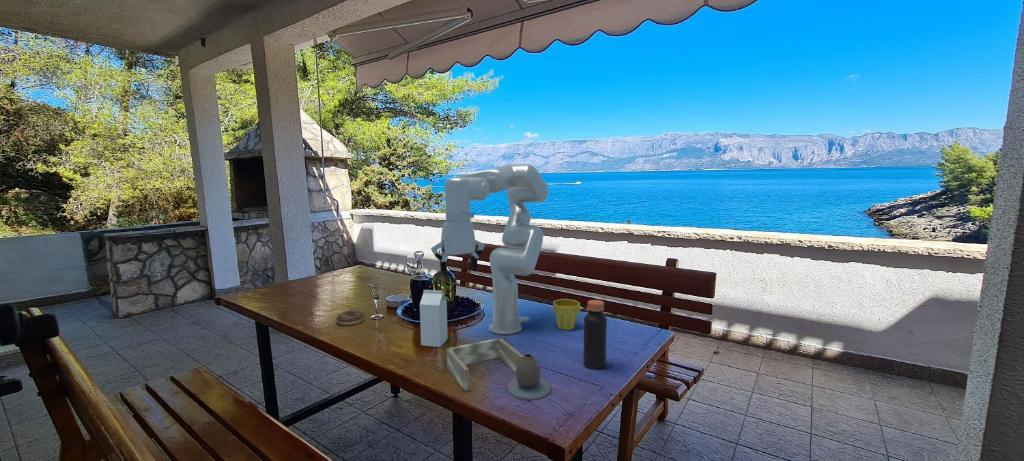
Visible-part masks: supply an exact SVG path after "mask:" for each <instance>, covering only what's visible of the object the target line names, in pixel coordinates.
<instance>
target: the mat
mask: <svg viewBox="0 0 1024 461" xmlns="http://www.w3.org/2000/svg"><path fill="white" fill-rule="evenodd" d="M506 389H507V392H508V393H509V394H510V395H511V396H512V397H514V398H517V399H520V400H524V401H525V400H526V401H533V400H534V401H535V400H540V399H542V398H543V399H544V398H545V397H547V396H548V395H549V394H550V393H551V391H552V386H551V383H550V381H548V380H547V379H545V378H543V377H541V378H540V381H539V383H538V385H537V386H536V387H535V388H533V389H524V388H522V387H521V386H520V385H519V384H518V382H517V379H516V377H514V378H512V379H511V380H510V381H508V383H507V388H506Z"/></svg>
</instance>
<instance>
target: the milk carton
mask: <svg viewBox="0 0 1024 461" xmlns="http://www.w3.org/2000/svg"><path fill="white" fill-rule="evenodd" d="M447 307H448V304H447V298H446V297H445V294H444V291H443V290H435V289H434V290H433V289H432V290H431V289H423V293H422V296H421V300H420V302H419V321H420V322H419V323H420V345H421V346H424V347H435V348H436V347H437V348H440V347H441V348H442V346H443V345H444V343H445V342H446V341H447V340H448V310H447V309H448V308H447Z"/></svg>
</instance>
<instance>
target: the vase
mask: <svg viewBox="0 0 1024 461" xmlns="http://www.w3.org/2000/svg"><path fill="white" fill-rule="evenodd" d="M541 376H542V372H541V367H540V365H539V362H537V360H536V359H535V358H534V355H533V354H532V353H525V354H523V358H522V360H521V361H520V362H519V363H518V365H517V368H516V372H515V378H516V379H517V382H518V384H519V385H520V386H521V387H522V388H524V389H533V388H535V387H536V386H537V385H538V383H539V381H540V378H542V377H541Z"/></svg>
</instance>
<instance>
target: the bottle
mask: <svg viewBox="0 0 1024 461" xmlns="http://www.w3.org/2000/svg"><path fill="white" fill-rule="evenodd" d="M586 308H587V312H588V313H587V314H585V316H584V318H583V354H582V355H583V357H582V358H583V365H584V366H585V367H586V368H588V369H592V370H601V369H603V368H605V367H606V363H607V330H608V329H607V328H608V327H607V325H608V321H607V320H608V319H607V317H606V316H605V314H604V311H605V302H604V301H603V300H600V299H591V300H588V301H587V307H586Z"/></svg>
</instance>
